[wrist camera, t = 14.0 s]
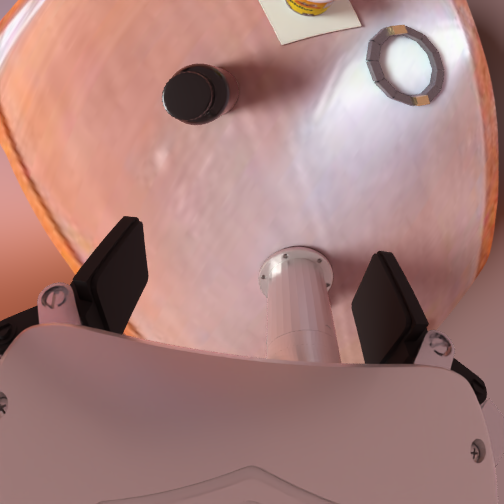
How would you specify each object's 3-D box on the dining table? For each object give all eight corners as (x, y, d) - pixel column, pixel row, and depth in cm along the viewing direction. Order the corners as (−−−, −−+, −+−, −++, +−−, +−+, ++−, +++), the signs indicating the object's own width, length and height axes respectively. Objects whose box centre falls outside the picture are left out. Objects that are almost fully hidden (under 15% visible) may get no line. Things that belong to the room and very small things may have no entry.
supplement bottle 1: (224, 58, 29) (204, 47, 19) (248, 102, 32) (238, 110, 22) (178, 83, 31) (140, 86, 21) (201, 125, 34) (173, 144, 24)
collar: (445, 97, 28) (454, 99, 26) (382, 110, 31) (389, 112, 29) (423, 25, 22) (431, 23, 20) (354, 33, 25) (359, 30, 23)
